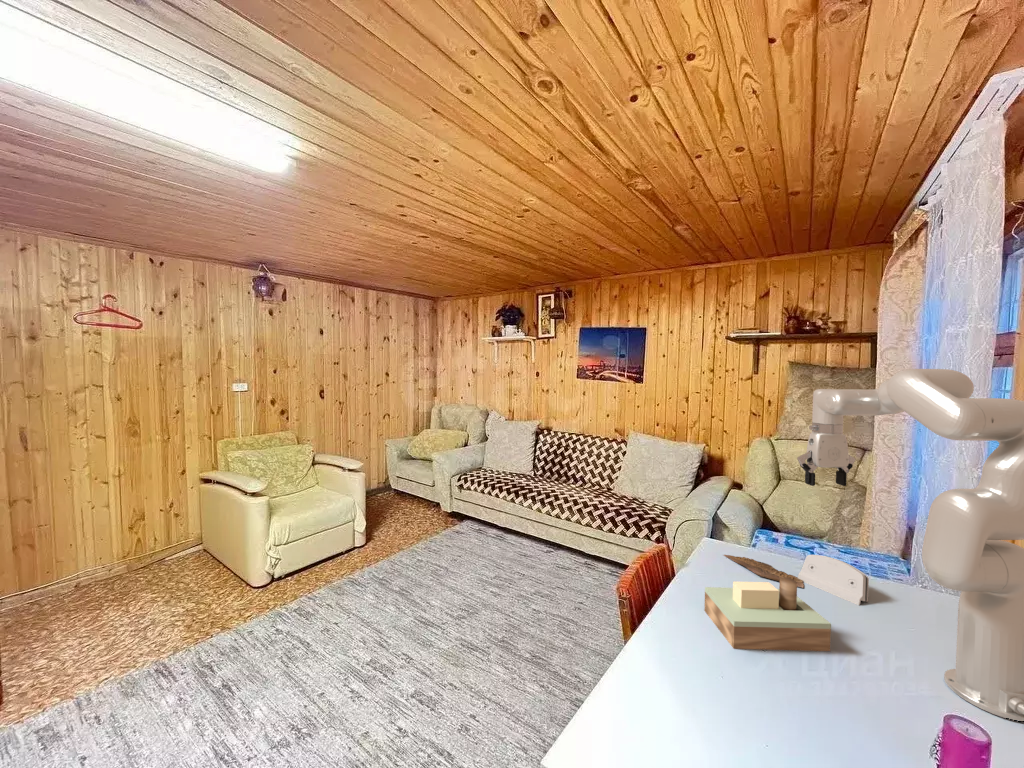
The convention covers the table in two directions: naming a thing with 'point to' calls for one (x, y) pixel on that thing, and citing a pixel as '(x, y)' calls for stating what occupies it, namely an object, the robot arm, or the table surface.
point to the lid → (762, 607)
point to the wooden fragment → (764, 569)
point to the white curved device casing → (835, 578)
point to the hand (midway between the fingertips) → (825, 484)
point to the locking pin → (788, 594)
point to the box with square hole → (768, 634)
